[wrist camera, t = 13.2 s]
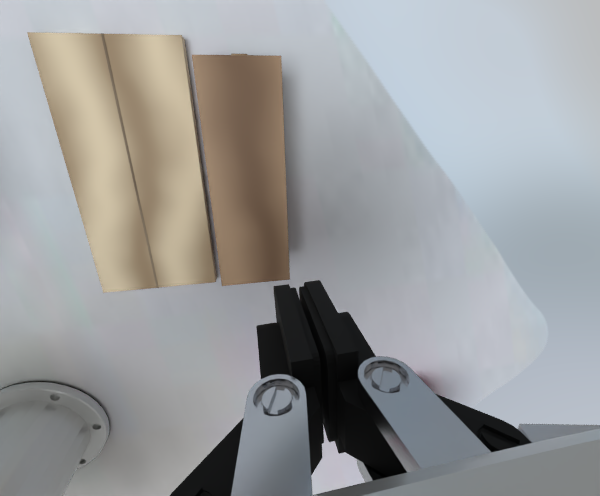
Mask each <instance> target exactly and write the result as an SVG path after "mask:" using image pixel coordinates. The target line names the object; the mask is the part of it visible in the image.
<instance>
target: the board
mask: <svg viewBox="0 0 600 496" xmlns="http://www.w3.org/2000/svg"><path fill="white" fill-rule="evenodd" d="M27 33H28V37H29V40H30V43H31V47H32V50H33V54H34V57H35V60H36V64H37V67H38V71H39V74H40V78H41V81H42V84H43V88H44V91H45V95H46V98H47V101H48V105H49V108H50V112H51V115H52V119H53V122H54V125H55V129H56V132H57V136H58V139H59V142H60V146H61V149H62V153H63V156H64V160H65V163H66V166H67V170H68V173H69V177H70V180H71V183H72V187H73V190H74V194H75V197H76V201H77V204H78V207H79V211H80V214H81V218H82V221H83V224H84V228H85V231H86V235H87V238H88V242H89V245H90V248H91V252H92V255H93V259H94V262H95V265H96V269H97V272H98V276H99V279H100V283H101V286H102V289H103V293H105V292H115V291H126V290H137V289H147V288H159V287H168V286H179V285H190V284H200V283H211V282H216V279H217V274H216V266H215V259H214V252H213V244H212V237H211V230H210V222H209V215H208V208H207V200H206V193H205V186H204V178H203V171H202V164H201V156H200V149H199V142H198V134H197V127H196V120H195V112H194V105H193V98H192V90H191V83H190V76H189V68H188V61H187V54H186V46H185V40H184V38H183V37H182V35H138V34H83V33H29V32H27ZM231 55H247V54H231Z"/></svg>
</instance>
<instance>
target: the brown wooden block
mask: <svg viewBox="0 0 600 496" xmlns="http://www.w3.org/2000/svg"><path fill="white" fill-rule="evenodd" d="M192 59H193V67H194V75H195V82H196V90H197V98H198V105H199V113H200V121H201V128H202V136H203V144H204V152H205V159H206V167H207V175H208V182H209V190H210V198H211V205H212V213H213V221H214V228H215V236H216V244H217V251H218V259H219V267H220V275H221V282H222V286H226V285H236V284H247V283H257V282H268V281H278V280H289V279H290V273H289V247H288V221H287V196H286V170H285V144H284V118H283V93H282V67H281V56H254V55H192Z"/></svg>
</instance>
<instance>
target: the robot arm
mask: <svg viewBox="0 0 600 496" xmlns="http://www.w3.org/2000/svg"><path fill="white" fill-rule="evenodd" d="M299 295H300V300H299V297H298V294H297V291H296V288H290V286H289V284H288V285H281V286H274V297H275V308H276V318H277V323H270V324H264V325H257V336H258V348H259V360H260V373H261V380H259V381H258V382H257V383H255V384H254V386H253V387H252V388H251V389H250V391H249V394H248V396H247V401H246V407H245V413H244V418H243V419H242V420H241V421H240V422H239V423H238V424H237V425H236V426H235V427H234V429H233V430H232V431H231V432H230V433H229V434H228V435H227V436H226V437H225V438H224V439H223V440H222V441H221V442H220V443H219V444H218V445H217V446H216V447H215V448H214V449H213V451H212V452H211V453H210V454H209V455H208V456H207V457H206V458H205V459H204V460H203V461H202V462H201V463H200V464H199V465H198V466H197V467H196V468H195V469H194V470H193V471H192V473H191V474H190V475H189V476H188V477H187V478H186V479H185V480H184V481H183V482H182V483H181V484H180V485H179V486H178V487H177V488H176V489H175V490H174V491H173V492H172V494H171V495H170V496H600V425H557V424H555V425H554V424H552V425H551V424H519V428H518V429H516V428H515V427H514V426H512V425H510V424H508V423H506V422H504V421H502V420H500V419H497V418H495V417H492V416H490V415H488V414H485V413H482V412H480V411H477V410H475V409H472V408H470V407H467V406H465V405H462V404H460V403H457V402H455V401H452V400H450V399H447V398H445V397H442V396H439V395H437V394H435V393H434V392H433V391H432V390H431V389H430V388H429V387H428V386H427V385H426V384H425V383H424V382H423V381H422V380H421V379H420V378H419V377H418V376H417V375H416V374H415V373H414V372H413V371H412V369H411V368H410V367H408V366H407V365H406V364H405V363H403V362H401V361H399V360H397V359H394V358H390V357H383V356H378V357H376V356H375V355H374V353H373V351H372V350H371V348H370V346H369V345H368V343H367V341H366V340H365V338H364V337H363V335H362V333H361V332H360V330H359V328H358V327H357V325H356V324H355V322H354V320H353V319H352V317H351V315H350V314H349V313H348V312H343V313H338V312H337V311H336V309H335V307H334V305H333V303H332V302H331V300H330V298H329V296H328V294H327V292H326V291H325V289H324V287H323V285H322V283H321V282H320V280H318V281H310V282H305V283H304V286H303V287H299ZM323 424H324V428H325V431H326V435H327V438H328V441H329V442H331V441H335V443H336V446H337V449H338V452H339V453H343V452H346V453H348V454H349V455H351V456H353V457H354V458H356V459H357V465H358V468H359V471H360V473H361V475H362V477H363V479H364V481H365V483H361V484H357V485H353V486H349V487H345V488H341V489H337V490H332V491H328V492H324V493H320V494H316V495H312V480H311V475H312V473H313V472H314V470H315V468H316V467H317V465H318V463H319V462H320V460H321V459H322V443H324V435H323ZM108 435H109V421H108V417H107V415H106V413H105V412H104V410H103V408H102V407H101V406H100V405H99V404H98V403H97V402H96V401H95V400H94V399H92V398H91V397H90V396H88V395H87V394H85V393H83V392H81V391H79V390H77V389H74V388H71V387H68V386H65V385H60V384H55V383H45V382H31V383H22V384H17V385H12V386H9V387H7V388H4V389H1V390H0V496H63V494H64V492H65V490H66V488H67V486H68V484H69V482H70V480H71V478H72V476H73V474H74V472H75V470H76V469H78V468H81V467H82V466H84V465H86V464H88V463H90V462H91V461H92V460H93V459H94V458H96V457H97V456H98V454H99V453H100V452H101V451H102V449H103V447H104V445H105V443H106V441H107V438H108Z"/></svg>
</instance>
